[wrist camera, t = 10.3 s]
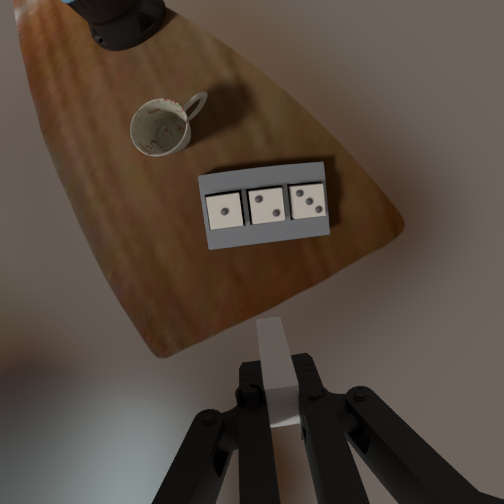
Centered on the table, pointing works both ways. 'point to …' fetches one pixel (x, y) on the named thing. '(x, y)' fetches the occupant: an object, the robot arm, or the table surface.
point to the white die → (266, 205)
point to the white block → (224, 210)
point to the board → (242, 182)
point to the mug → (164, 125)
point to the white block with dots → (306, 200)
